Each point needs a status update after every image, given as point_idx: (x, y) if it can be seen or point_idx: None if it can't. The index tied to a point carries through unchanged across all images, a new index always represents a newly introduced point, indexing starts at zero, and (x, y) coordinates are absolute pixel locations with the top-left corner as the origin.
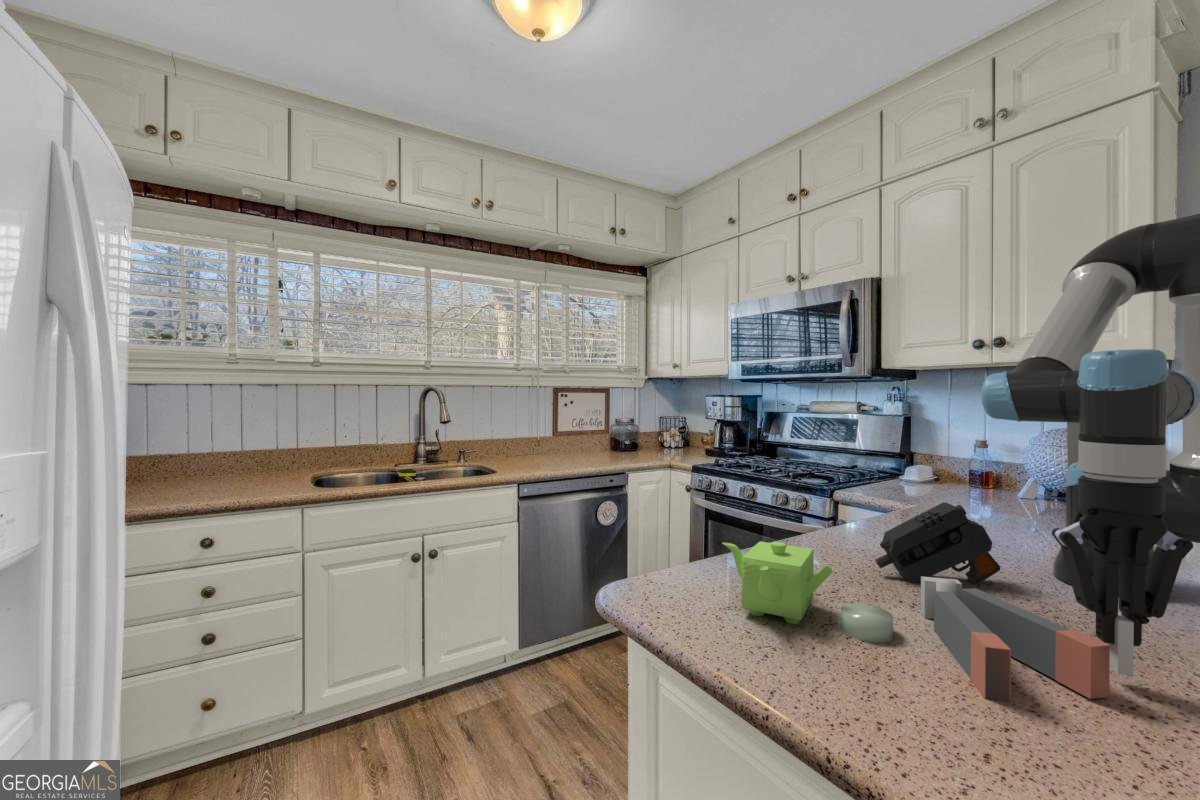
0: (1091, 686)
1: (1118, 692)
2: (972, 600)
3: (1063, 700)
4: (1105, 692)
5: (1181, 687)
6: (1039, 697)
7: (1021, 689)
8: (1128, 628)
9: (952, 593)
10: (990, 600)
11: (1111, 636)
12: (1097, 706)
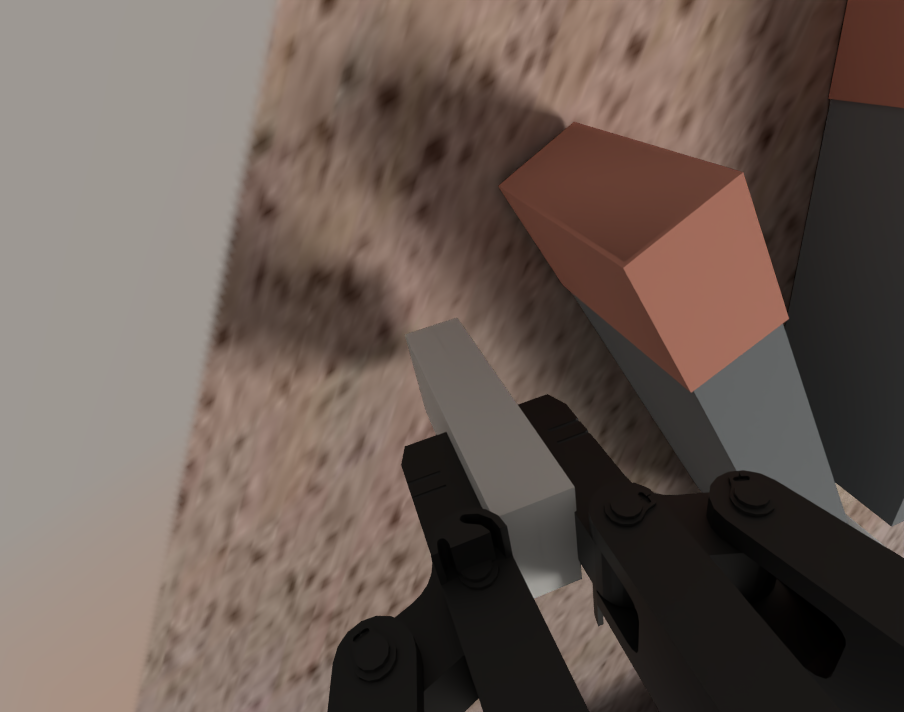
0: (598, 133)
1: (438, 273)
2: None
3: (659, 76)
4: (521, 177)
5: (214, 447)
6: (733, 54)
7: (762, 95)
8: (501, 475)
9: (896, 518)
10: None
11: (539, 425)
12: (557, 89)
